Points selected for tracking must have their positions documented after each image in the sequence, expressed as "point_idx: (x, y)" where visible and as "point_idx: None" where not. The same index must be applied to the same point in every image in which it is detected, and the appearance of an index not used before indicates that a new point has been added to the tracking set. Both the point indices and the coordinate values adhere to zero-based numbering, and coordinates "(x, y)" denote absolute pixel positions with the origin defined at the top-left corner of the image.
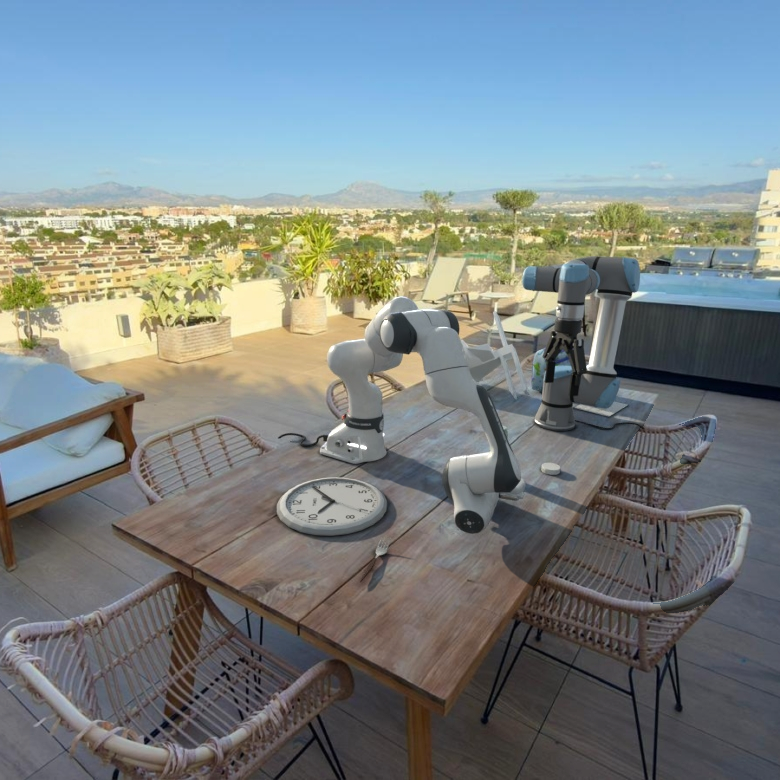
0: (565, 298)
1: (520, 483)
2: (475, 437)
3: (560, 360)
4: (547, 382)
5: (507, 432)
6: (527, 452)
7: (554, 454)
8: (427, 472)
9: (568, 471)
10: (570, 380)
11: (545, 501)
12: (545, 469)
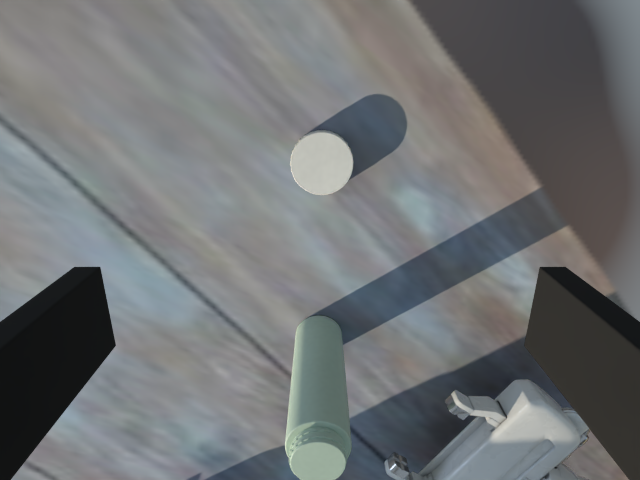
0: None
1: (558, 424)
2: (20, 286)
3: None
4: (112, 330)
5: (335, 427)
6: (162, 164)
7: (189, 66)
8: (264, 474)
9: (337, 97)
10: (629, 470)
11: (491, 274)
12: (334, 191)
